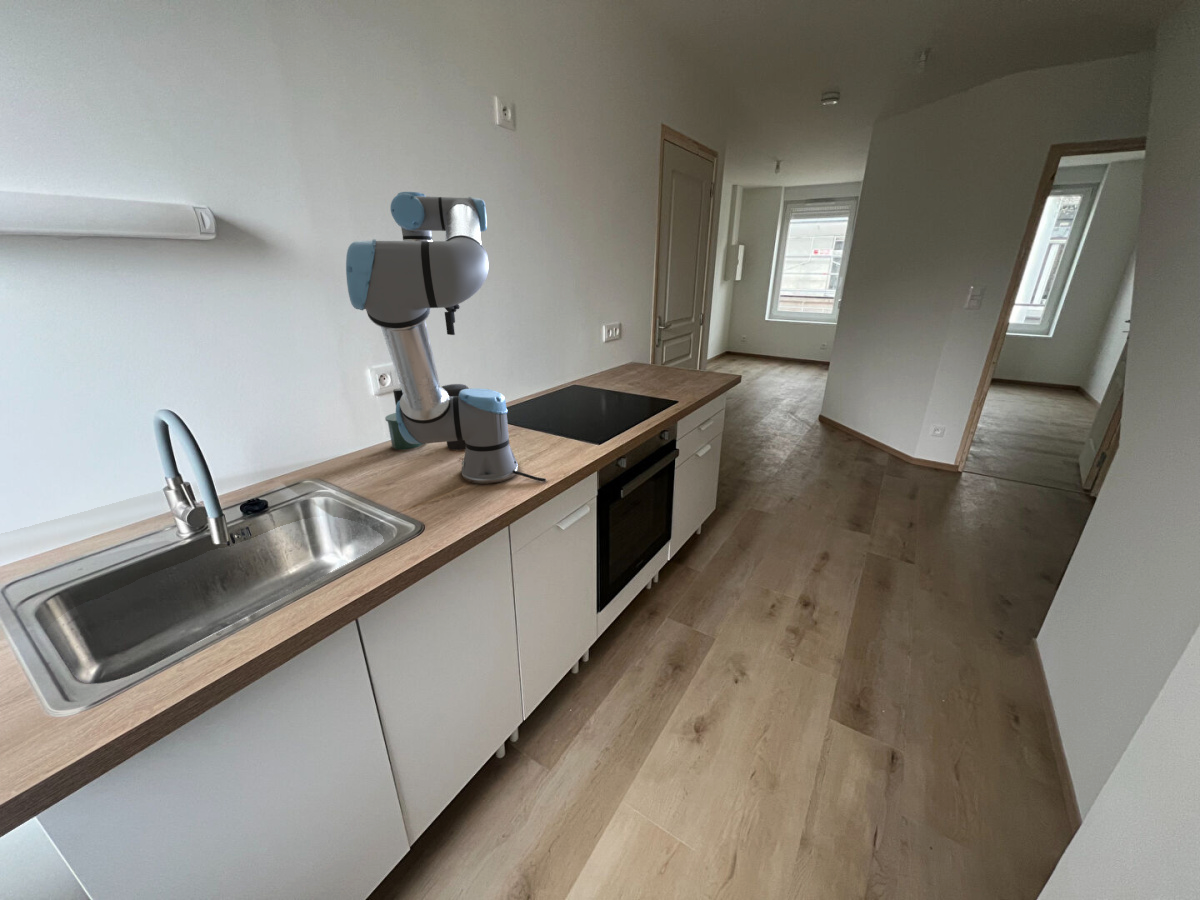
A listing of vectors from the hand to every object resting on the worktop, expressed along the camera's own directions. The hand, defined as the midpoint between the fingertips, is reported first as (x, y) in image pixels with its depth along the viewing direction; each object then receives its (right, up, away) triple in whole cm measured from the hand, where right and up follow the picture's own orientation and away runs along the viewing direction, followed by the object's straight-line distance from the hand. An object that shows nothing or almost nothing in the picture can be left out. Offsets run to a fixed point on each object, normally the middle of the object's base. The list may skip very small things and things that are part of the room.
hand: (431, 337), depth 131 cm
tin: (-13, -31, +15) cm, 37 cm away
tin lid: (-13, -23, +12) cm, 29 cm away
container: (+4, -32, +15) cm, 35 cm away
